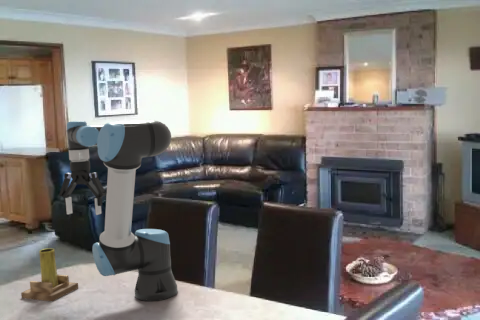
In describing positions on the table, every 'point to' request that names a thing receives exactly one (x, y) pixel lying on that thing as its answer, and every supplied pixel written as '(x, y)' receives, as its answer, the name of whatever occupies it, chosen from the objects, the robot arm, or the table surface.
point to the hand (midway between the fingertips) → (84, 214)
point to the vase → (48, 266)
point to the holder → (49, 289)
